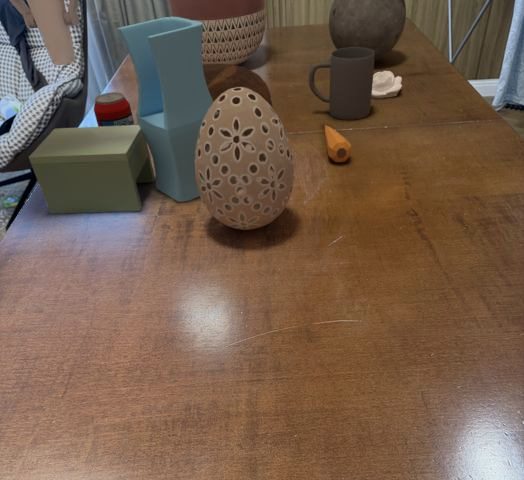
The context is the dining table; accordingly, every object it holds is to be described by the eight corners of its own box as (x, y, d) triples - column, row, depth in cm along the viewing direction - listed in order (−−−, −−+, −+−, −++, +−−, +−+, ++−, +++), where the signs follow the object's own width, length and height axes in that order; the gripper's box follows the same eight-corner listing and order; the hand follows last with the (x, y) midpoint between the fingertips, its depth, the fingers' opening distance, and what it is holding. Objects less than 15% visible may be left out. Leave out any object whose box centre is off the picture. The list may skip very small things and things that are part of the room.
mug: (369, 105, 115) (373, 45, 107) (371, 120, 109) (376, 58, 101) (309, 107, 117) (309, 48, 109) (308, 121, 111) (308, 60, 102)
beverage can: (118, 170, 98) (100, 106, 90) (102, 160, 102) (84, 97, 94) (148, 159, 101) (134, 96, 93) (132, 150, 105) (117, 88, 97)
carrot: (347, 168, 94) (357, 144, 92) (325, 161, 93) (335, 137, 90) (330, 138, 110) (338, 117, 107) (311, 131, 109) (319, 110, 106)
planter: (238, 82, 134) (227, -47, 115) (159, 73, 144) (137, -46, 126) (285, 55, 150) (282, -62, 131) (211, 48, 160) (199, -60, 142)
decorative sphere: (353, 48, 150) (358, -35, 137) (414, 57, 140) (425, -33, 126) (313, 66, 140) (314, -23, 126) (375, 76, 130) (383, -18, 116)
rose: (414, 70, 118) (388, 80, 113) (411, 90, 121) (385, 101, 116) (380, 63, 123) (354, 73, 119) (378, 82, 126) (352, 93, 122)
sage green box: (50, 213, 87) (28, 157, 80) (72, 182, 96) (54, 128, 89) (140, 211, 86) (126, 153, 79) (155, 179, 94) (143, 124, 88)
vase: (152, 186, 92) (116, 28, 75) (196, 168, 97) (171, 15, 79) (181, 204, 87) (150, 37, 69) (226, 184, 91) (208, 23, 74)
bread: (130, 128, 114) (120, 86, 108) (179, 89, 133) (173, 51, 126) (249, 135, 107) (246, 91, 101) (283, 92, 125) (282, 53, 119)
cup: (68, 55, 78) (40, -42, 70) (89, 59, 76) (62, -41, 67) (39, 64, 76) (5, -36, 67) (59, 69, 73) (27, -34, 65)
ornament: (197, 249, 76) (173, 111, 62) (210, 202, 87) (191, 75, 73) (294, 247, 75) (291, 106, 61) (295, 199, 85) (293, 70, 71)
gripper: (102, -110, 64) (129, 17, 74) (-49, -98, 66) (-4, 25, 76) (88, -108, 60) (118, 27, 69) (-75, -95, 61) (-23, 35, 71)
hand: (53, 26), depth 73 cm, fingers closed on cup, 4 cm apart
